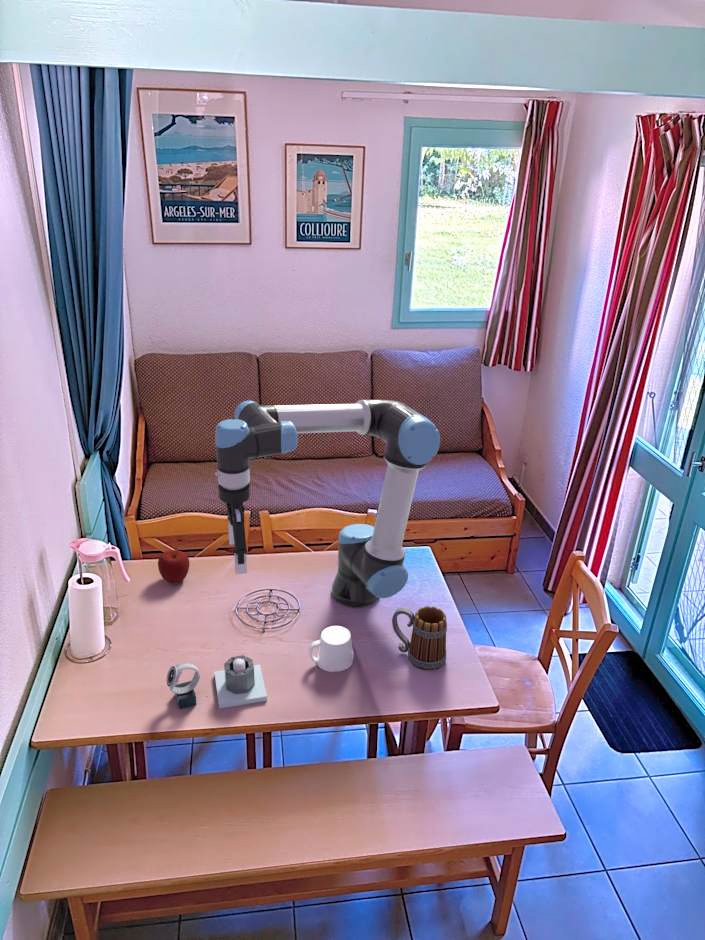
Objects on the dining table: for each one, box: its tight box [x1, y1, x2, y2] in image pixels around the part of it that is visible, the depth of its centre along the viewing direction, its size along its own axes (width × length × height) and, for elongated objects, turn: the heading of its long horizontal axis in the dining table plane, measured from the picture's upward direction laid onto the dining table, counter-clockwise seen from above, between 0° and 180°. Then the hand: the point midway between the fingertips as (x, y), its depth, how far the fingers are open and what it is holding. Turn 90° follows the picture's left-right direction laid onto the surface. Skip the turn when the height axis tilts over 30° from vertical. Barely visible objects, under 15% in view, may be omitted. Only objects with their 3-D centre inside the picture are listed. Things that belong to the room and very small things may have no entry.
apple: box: [157, 549, 190, 585], centre depth 227 cm, size 10×10×10 cm
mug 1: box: [308, 625, 355, 673], centre depth 195 cm, size 12×9×8 cm
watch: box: [166, 661, 201, 710], centre depth 181 cm, size 6×8×11 cm
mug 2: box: [391, 605, 448, 672], centre depth 197 cm, size 16×11×15 cm
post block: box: [213, 659, 268, 709], centre depth 186 cm, size 12×12×8 cm
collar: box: [223, 655, 255, 694], centre depth 186 cm, size 7×7×6 cm
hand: (237, 557), depth 183 cm, fingers open, 13 cm apart
